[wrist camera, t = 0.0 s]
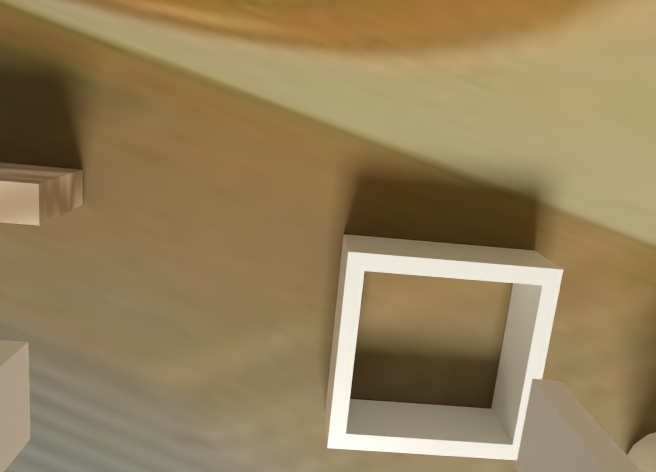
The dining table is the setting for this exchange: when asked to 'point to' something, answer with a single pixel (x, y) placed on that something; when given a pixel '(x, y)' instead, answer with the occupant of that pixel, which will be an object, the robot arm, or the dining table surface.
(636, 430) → the dining table surface
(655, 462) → the foam cup
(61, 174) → the board
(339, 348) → the frame
